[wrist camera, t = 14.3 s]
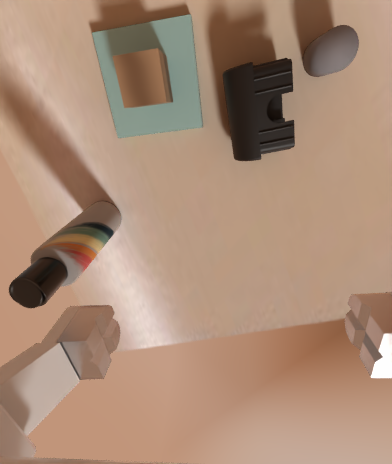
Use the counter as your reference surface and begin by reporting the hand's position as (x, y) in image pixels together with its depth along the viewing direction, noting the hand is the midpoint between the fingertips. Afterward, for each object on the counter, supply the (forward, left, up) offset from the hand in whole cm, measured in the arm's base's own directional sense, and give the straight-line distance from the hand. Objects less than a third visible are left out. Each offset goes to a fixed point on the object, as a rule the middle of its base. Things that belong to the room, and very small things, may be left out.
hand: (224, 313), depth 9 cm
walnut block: (+8, -10, -30) cm, 32 cm away
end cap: (-5, -5, -31) cm, 32 cm away
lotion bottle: (+20, +8, -31) cm, 38 cm away
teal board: (+8, -10, -31) cm, 34 cm away
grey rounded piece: (-13, -10, -31) cm, 35 cm away
